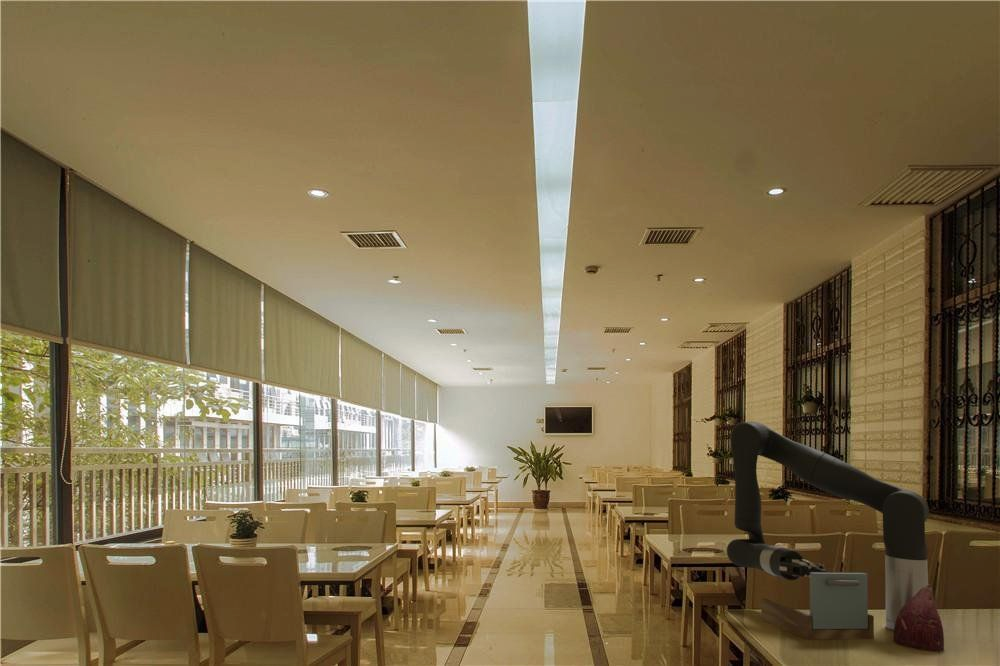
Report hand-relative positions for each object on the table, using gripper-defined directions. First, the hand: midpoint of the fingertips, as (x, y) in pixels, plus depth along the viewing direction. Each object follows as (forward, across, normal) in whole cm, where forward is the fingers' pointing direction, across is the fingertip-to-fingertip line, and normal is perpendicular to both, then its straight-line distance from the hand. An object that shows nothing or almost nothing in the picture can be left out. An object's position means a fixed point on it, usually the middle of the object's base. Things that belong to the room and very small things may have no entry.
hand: (824, 575), depth 184 cm
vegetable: (+11, +16, +13) cm, 24 cm away
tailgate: (+6, 0, +11) cm, 12 cm away
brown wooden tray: (-3, 0, +13) cm, 13 cm away
